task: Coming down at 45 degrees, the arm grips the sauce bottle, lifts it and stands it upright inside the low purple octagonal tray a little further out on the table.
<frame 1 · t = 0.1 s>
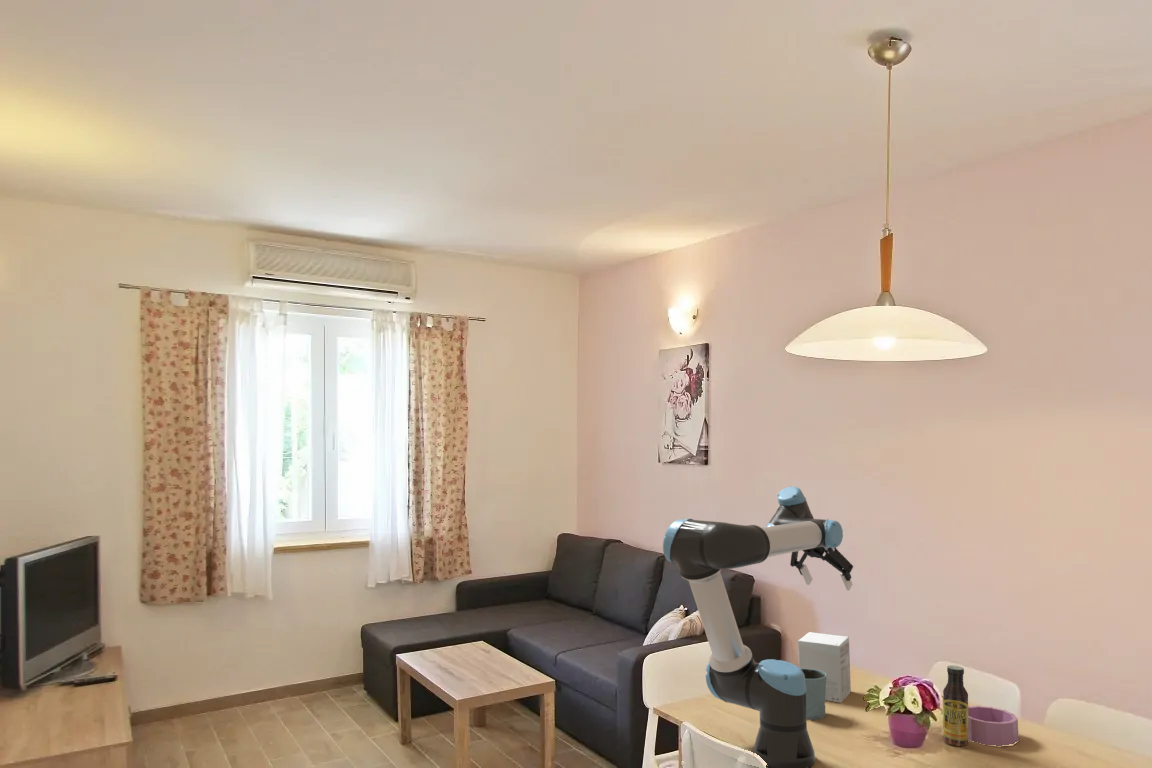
hand: (829, 584, 248), 36 cm above the table, tool tilted 35°, fingers open, 13 cm apart
supplement box: (825, 694, 253), on the table
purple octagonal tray: (989, 737, 216), on the table
teal cup: (809, 715, 235), on the table
sauce bottle: (956, 743, 212), on the table
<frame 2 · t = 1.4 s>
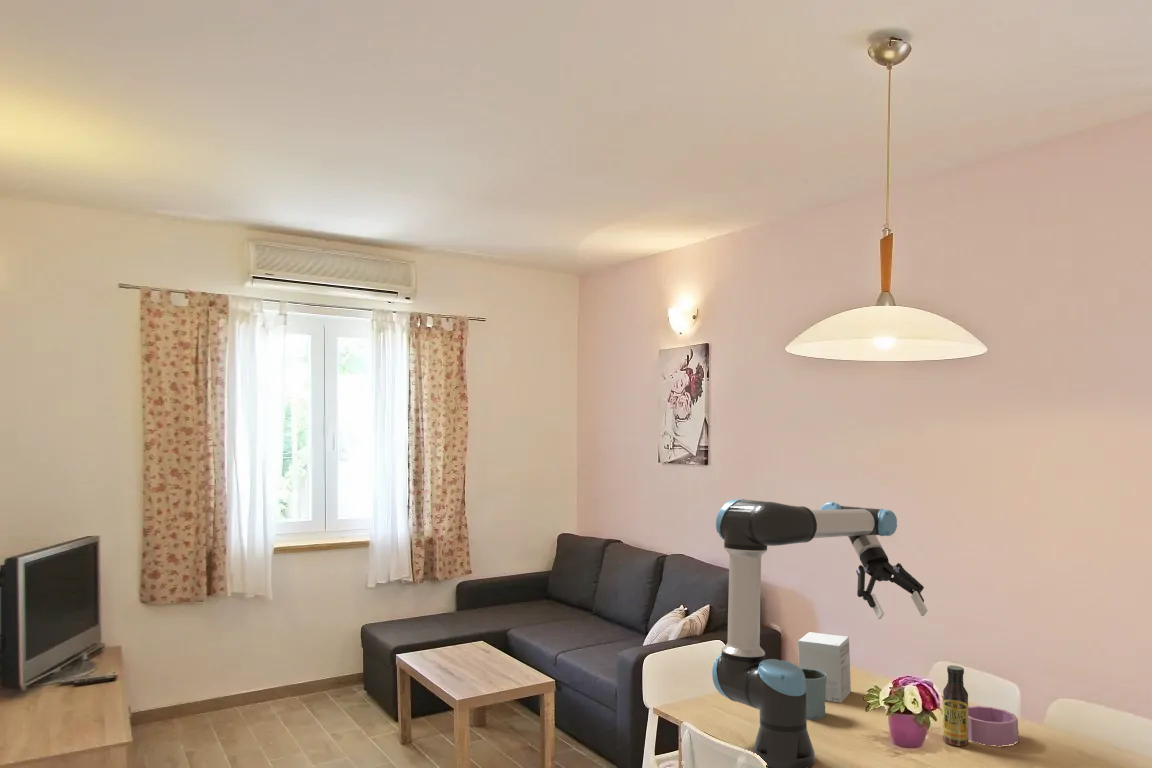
hand: (903, 615, 224), 32 cm above the table, tool tilted 45°, fingers open, 13 cm apart
nothing on the table moved.
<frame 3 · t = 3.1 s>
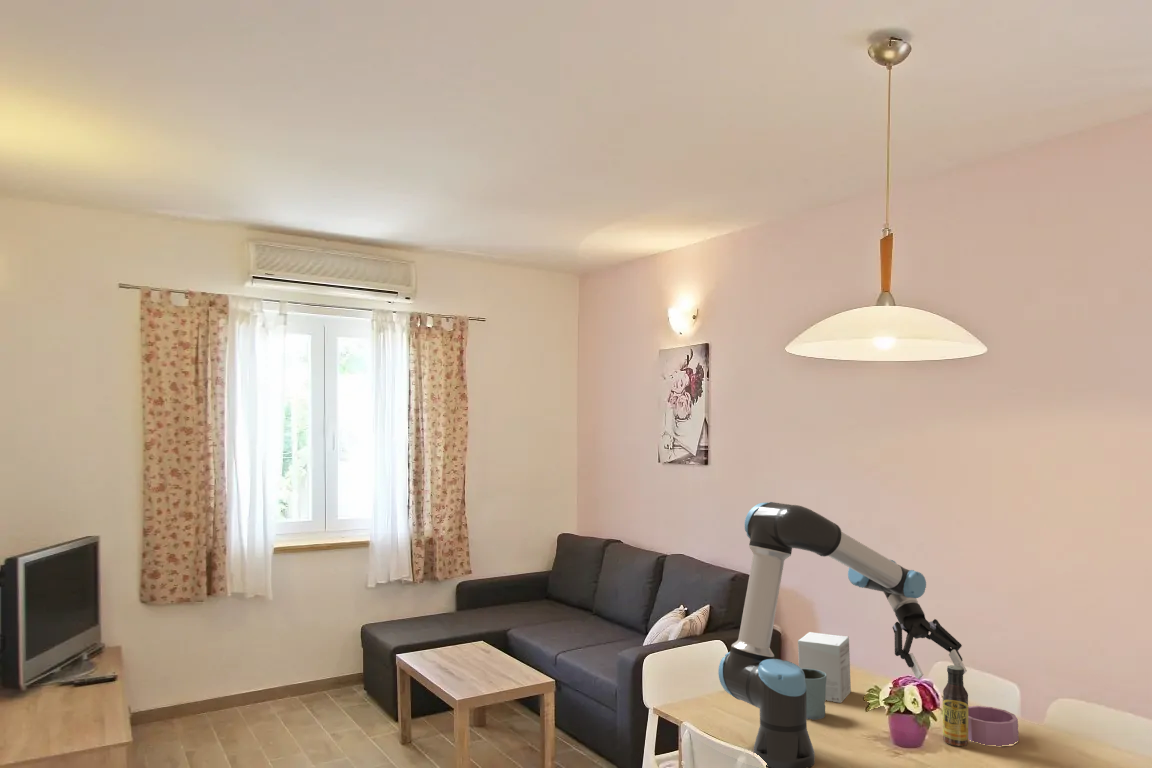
hand: (942, 675, 220), 16 cm above the table, tool tilted 45°, fingers open, 13 cm apart
nothing on the table moved.
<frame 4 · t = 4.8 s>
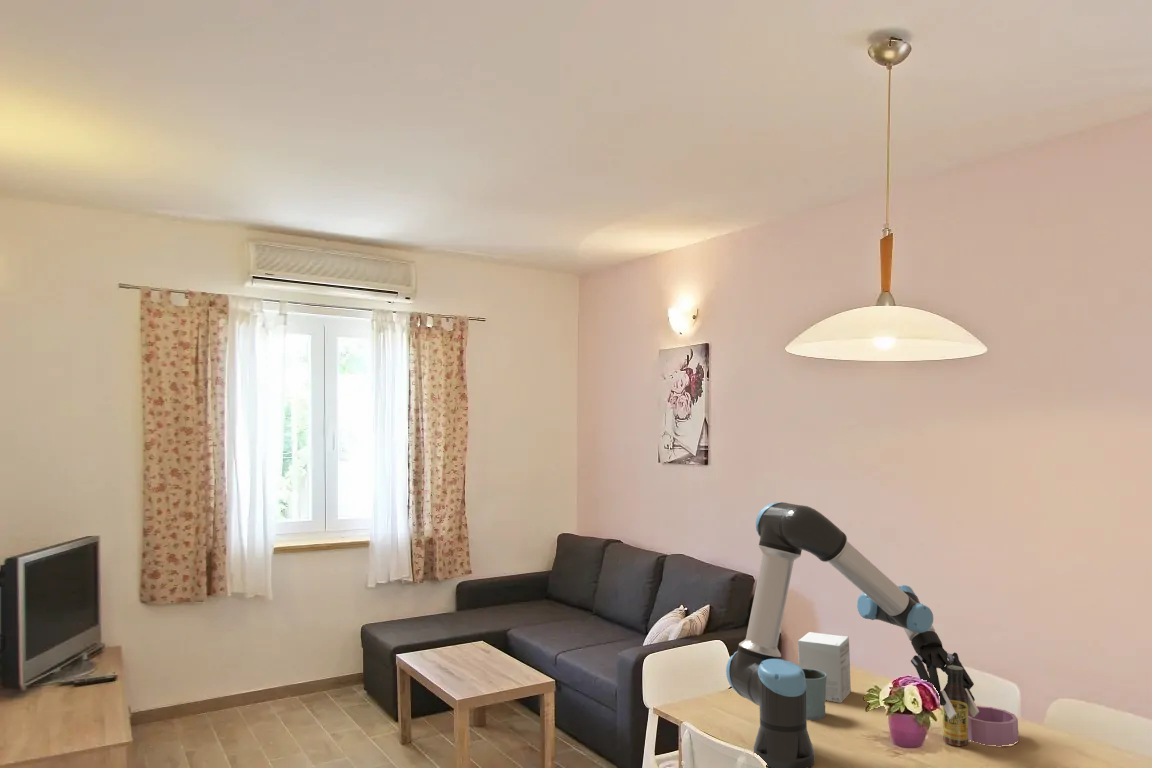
hand: (964, 715, 209), 8 cm above the table, tool tilted 45°, fingers closed on sauce bottle, 6 cm apart
sauce bottle: (956, 743, 212), on the table, touching gripper
everything else where it was.
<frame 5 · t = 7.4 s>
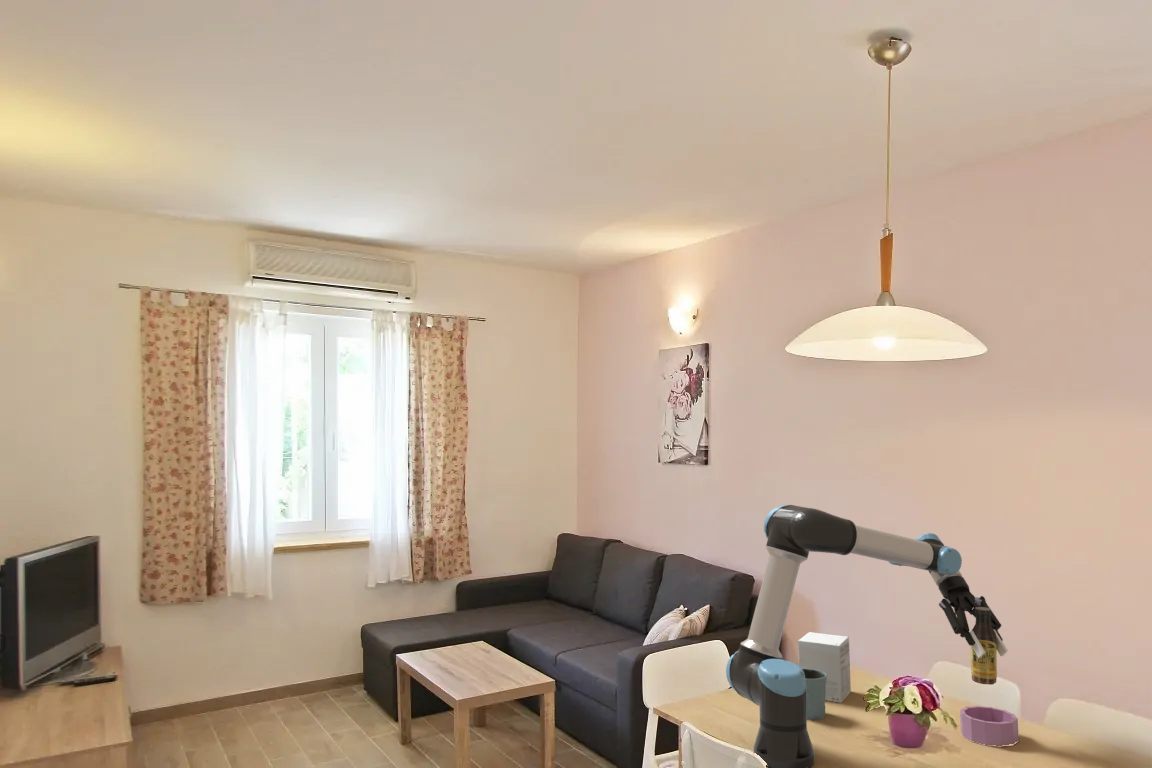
hand: (993, 654, 214), 23 cm above the table, tool tilted 45°, fingers closed on sauce bottle, 6 cm apart
sauce bottle: (985, 682, 217), point 14 cm above the table, touching gripper
everything else where it was.
when the fingers open (10 cm above the table, at t = 10.1 s): sauce bottle drops 1 cm, resting on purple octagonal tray.
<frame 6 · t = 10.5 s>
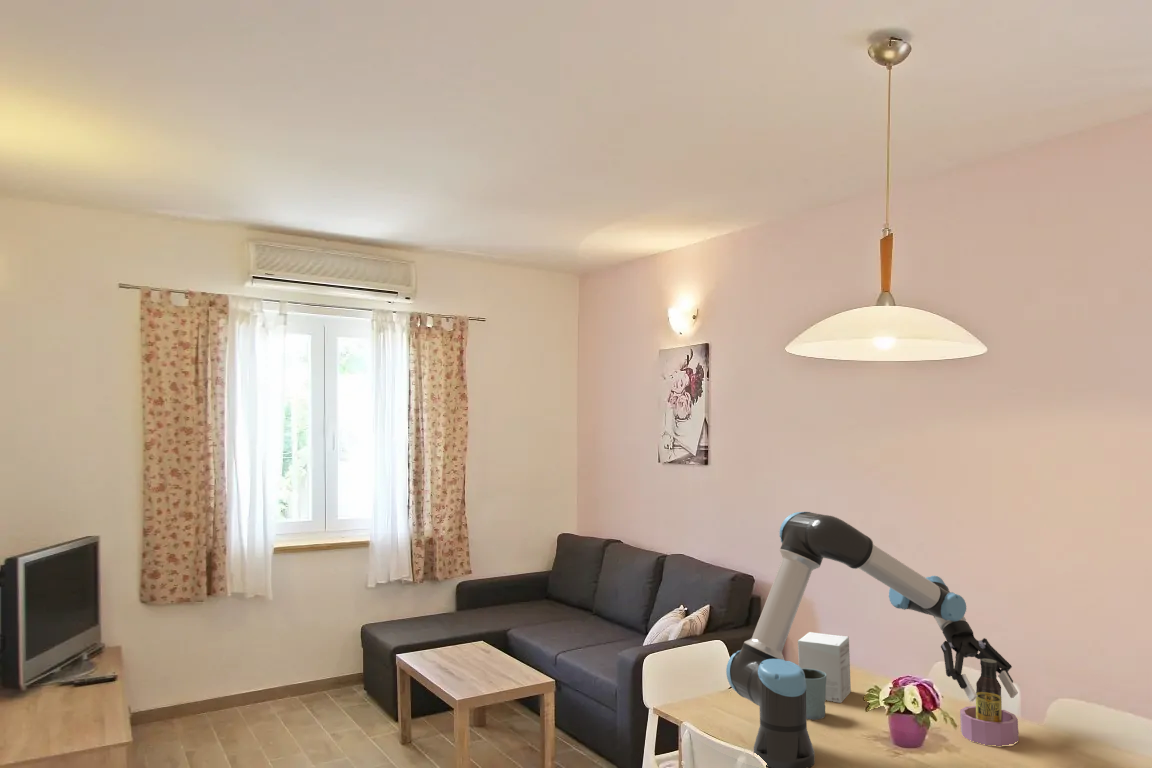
hand: (994, 697, 214), 11 cm above the table, tool tilted 45°, fingers open, 12 cm apart
sauce bottle: (989, 735, 216), resting on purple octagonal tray
everything else where it was.
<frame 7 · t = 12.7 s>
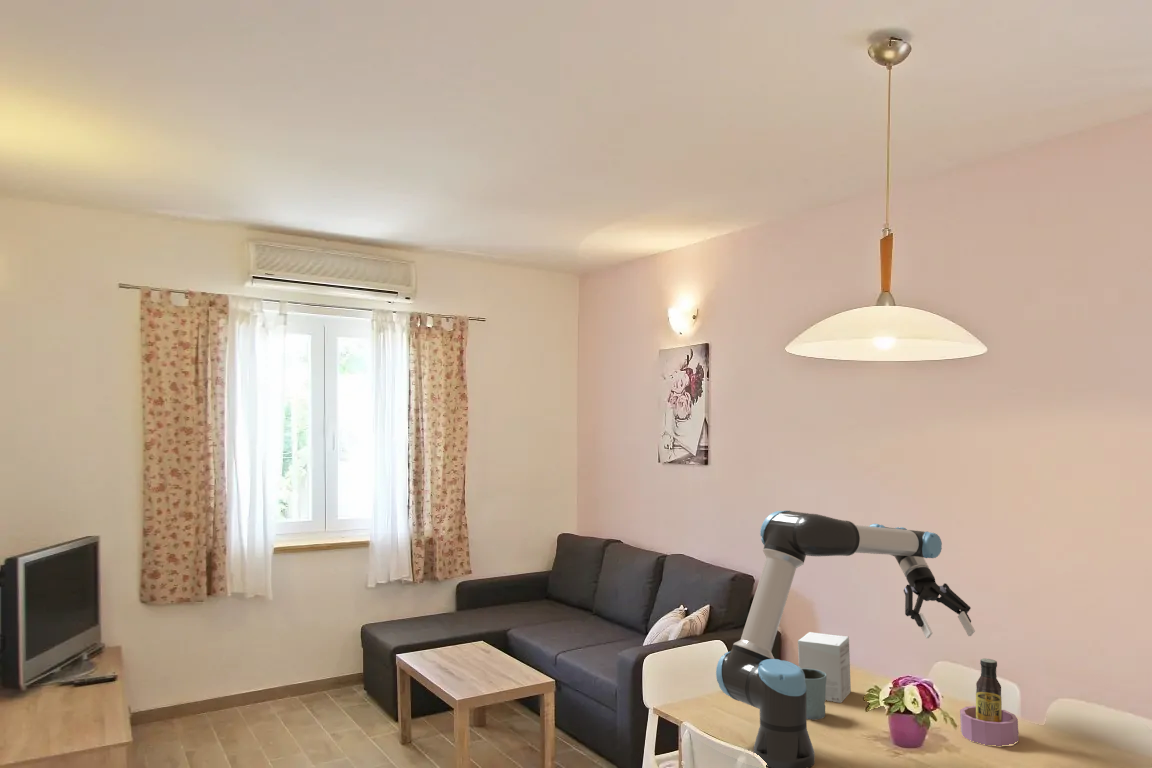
hand: (950, 634, 228), 25 cm above the table, tool tilted 45°, fingers open, 13 cm apart
nothing on the table moved.
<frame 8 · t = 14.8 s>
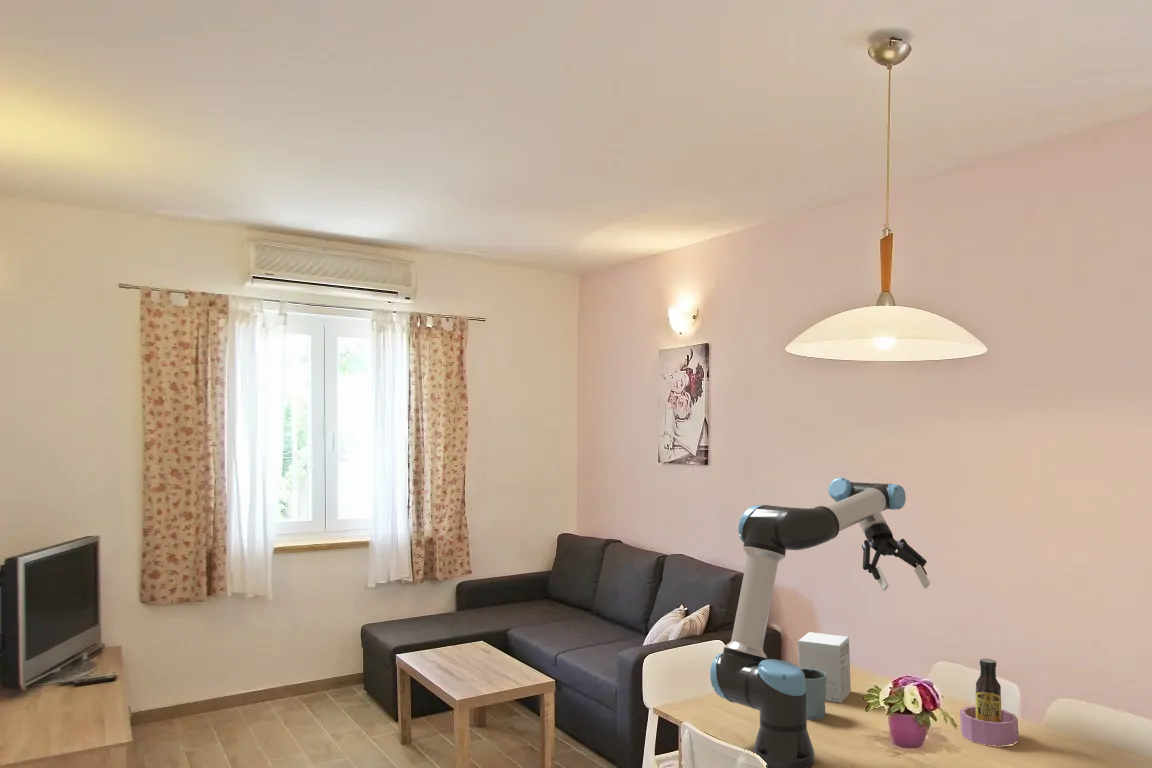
hand: (906, 586, 233), 38 cm above the table, tool tilted 45°, fingers open, 13 cm apart
nothing on the table moved.
at the end: sauce bottle inside the target area on the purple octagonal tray (0.1 cm from its centre), point 0.4 cm above the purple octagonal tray's base; sauce bottle tilted 0°; the gripper is holding nothing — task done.
